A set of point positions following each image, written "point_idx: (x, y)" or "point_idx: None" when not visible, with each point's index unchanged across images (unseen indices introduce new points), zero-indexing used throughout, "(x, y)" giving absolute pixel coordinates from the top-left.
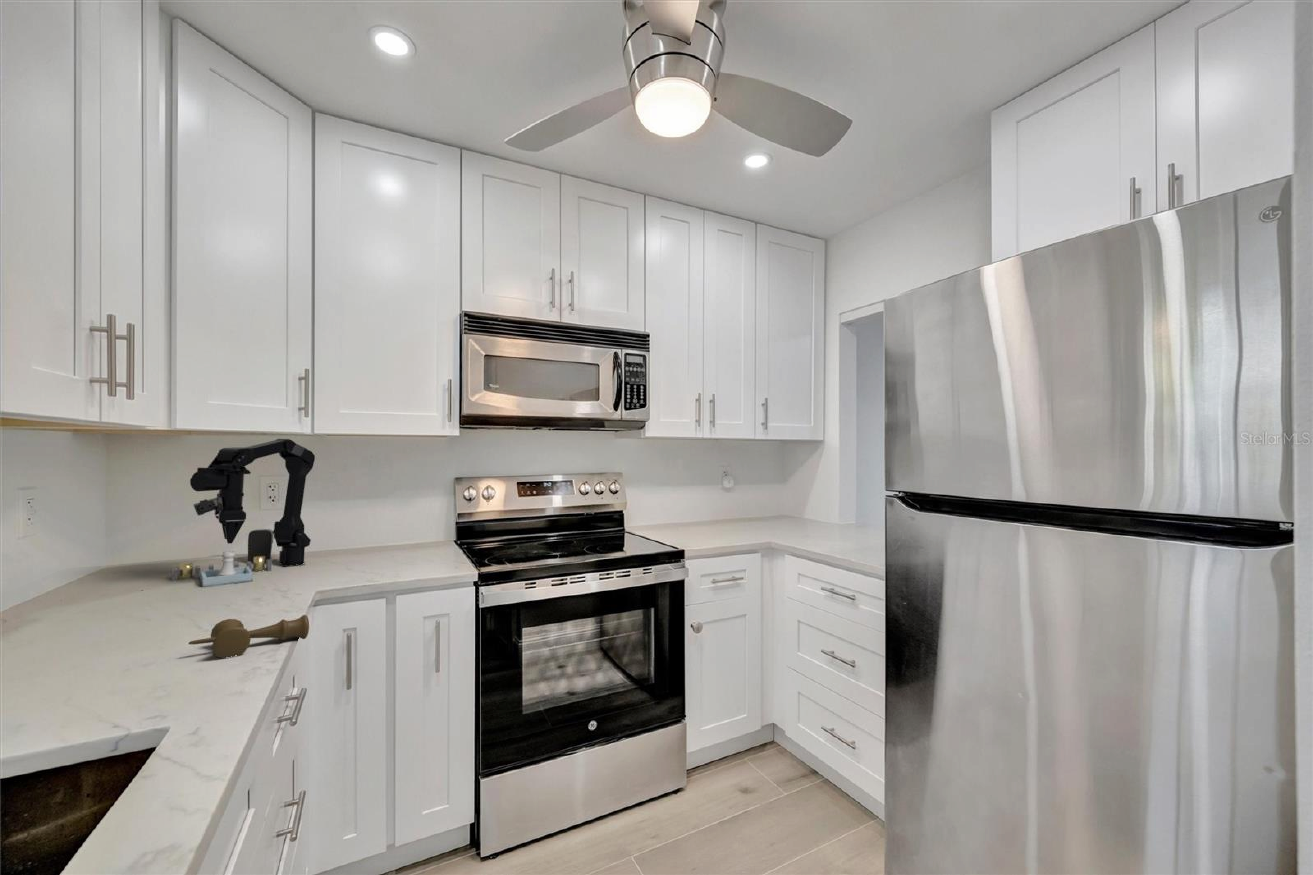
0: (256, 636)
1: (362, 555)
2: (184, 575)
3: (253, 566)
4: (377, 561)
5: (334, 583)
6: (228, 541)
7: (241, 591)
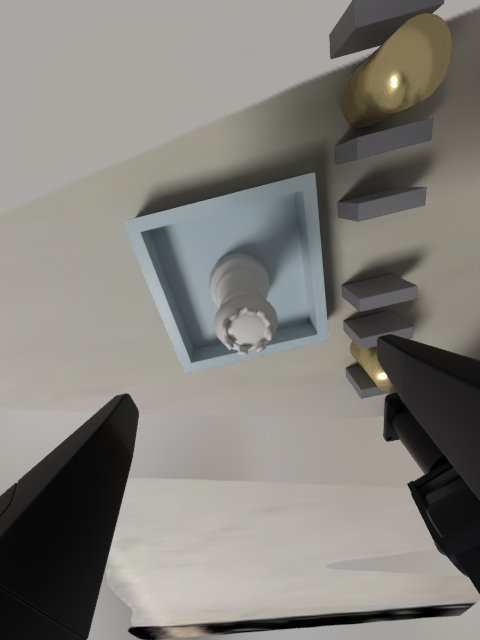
0: None
1: None
2: (350, 88)
3: None
4: (334, 538)
5: None
6: (106, 411)
7: (47, 348)
